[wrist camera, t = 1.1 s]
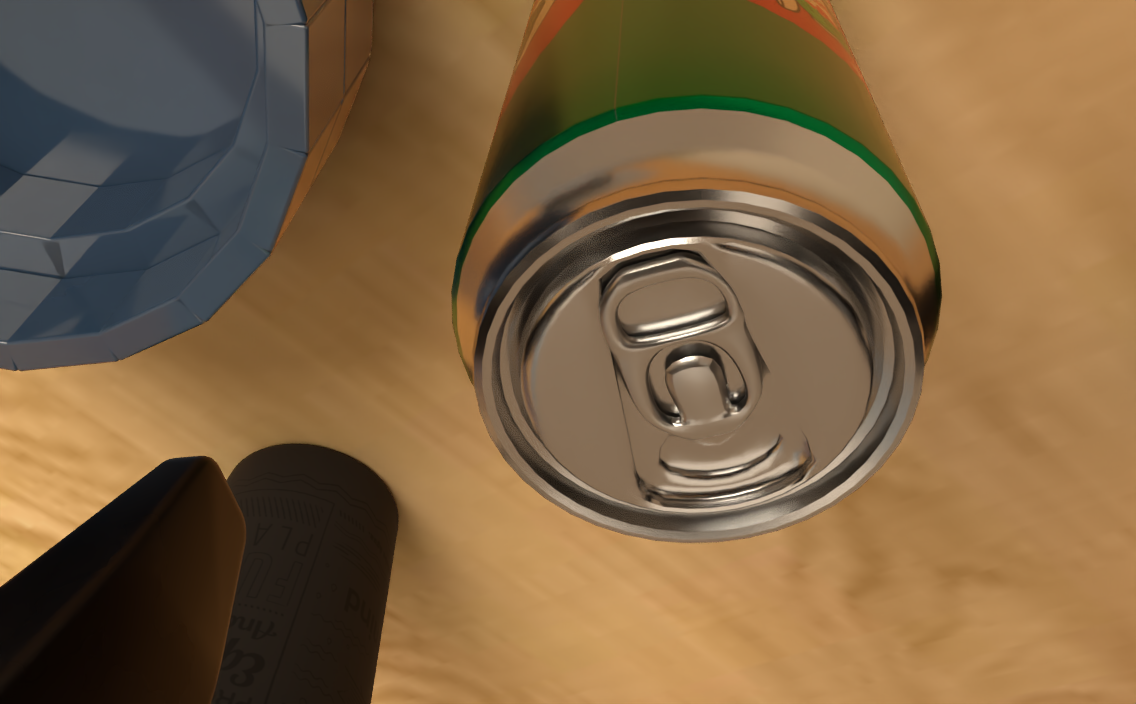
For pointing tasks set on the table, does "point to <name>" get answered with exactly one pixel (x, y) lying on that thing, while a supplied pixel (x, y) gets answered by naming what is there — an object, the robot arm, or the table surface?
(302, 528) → the drinking cup
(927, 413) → the table surface
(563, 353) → the soda can
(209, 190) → the bowl
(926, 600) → the table surface
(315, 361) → the table surface
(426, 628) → the table surface
